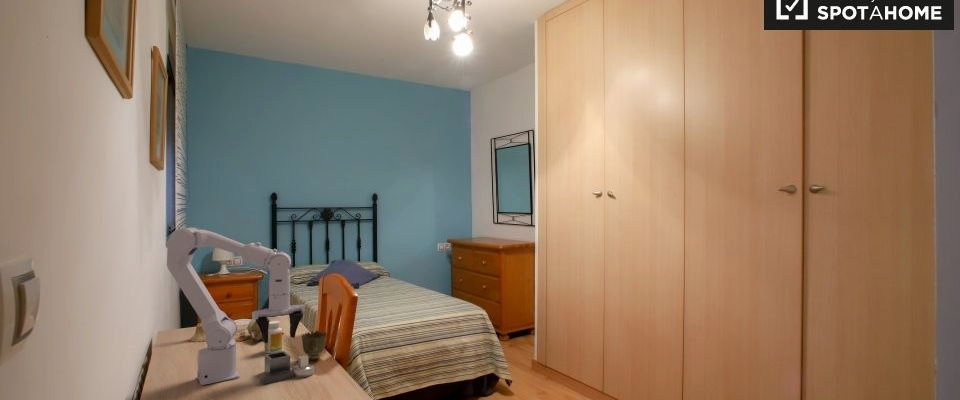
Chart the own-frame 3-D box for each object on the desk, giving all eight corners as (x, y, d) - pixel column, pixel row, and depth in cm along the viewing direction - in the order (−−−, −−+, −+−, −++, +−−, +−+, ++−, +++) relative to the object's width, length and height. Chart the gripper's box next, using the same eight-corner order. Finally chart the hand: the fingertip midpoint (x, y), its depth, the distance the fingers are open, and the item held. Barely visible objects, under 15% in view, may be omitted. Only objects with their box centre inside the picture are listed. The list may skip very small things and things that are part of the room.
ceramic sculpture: (269, 308, 177) (286, 317, 167) (269, 330, 178) (285, 341, 167) (240, 313, 170) (255, 323, 159) (239, 336, 170) (254, 348, 160)
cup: (331, 357, 148) (331, 332, 148) (312, 364, 142) (312, 338, 142) (315, 353, 152) (315, 329, 152) (296, 360, 146) (296, 334, 146)
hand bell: (212, 341, 164) (212, 296, 164) (186, 342, 162) (186, 297, 162) (219, 334, 172) (220, 292, 172) (195, 336, 170) (195, 293, 170)
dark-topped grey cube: (269, 377, 131) (269, 359, 131) (264, 371, 135) (264, 354, 135) (290, 372, 135) (290, 355, 135) (284, 367, 139) (284, 351, 139)
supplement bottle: (285, 348, 157) (285, 320, 157) (276, 354, 151) (276, 324, 151) (270, 348, 157) (270, 319, 157) (261, 353, 152) (261, 323, 152)
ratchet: (264, 386, 124) (264, 368, 124) (259, 380, 129) (259, 362, 129) (317, 374, 133) (317, 357, 133) (309, 368, 138) (310, 352, 138)
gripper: (257, 299, 128) (257, 347, 128) (309, 292, 138) (308, 337, 138) (250, 295, 133) (249, 342, 133) (300, 289, 143) (299, 332, 143)
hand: (279, 339), depth 136 cm, fingers open, 7 cm apart
